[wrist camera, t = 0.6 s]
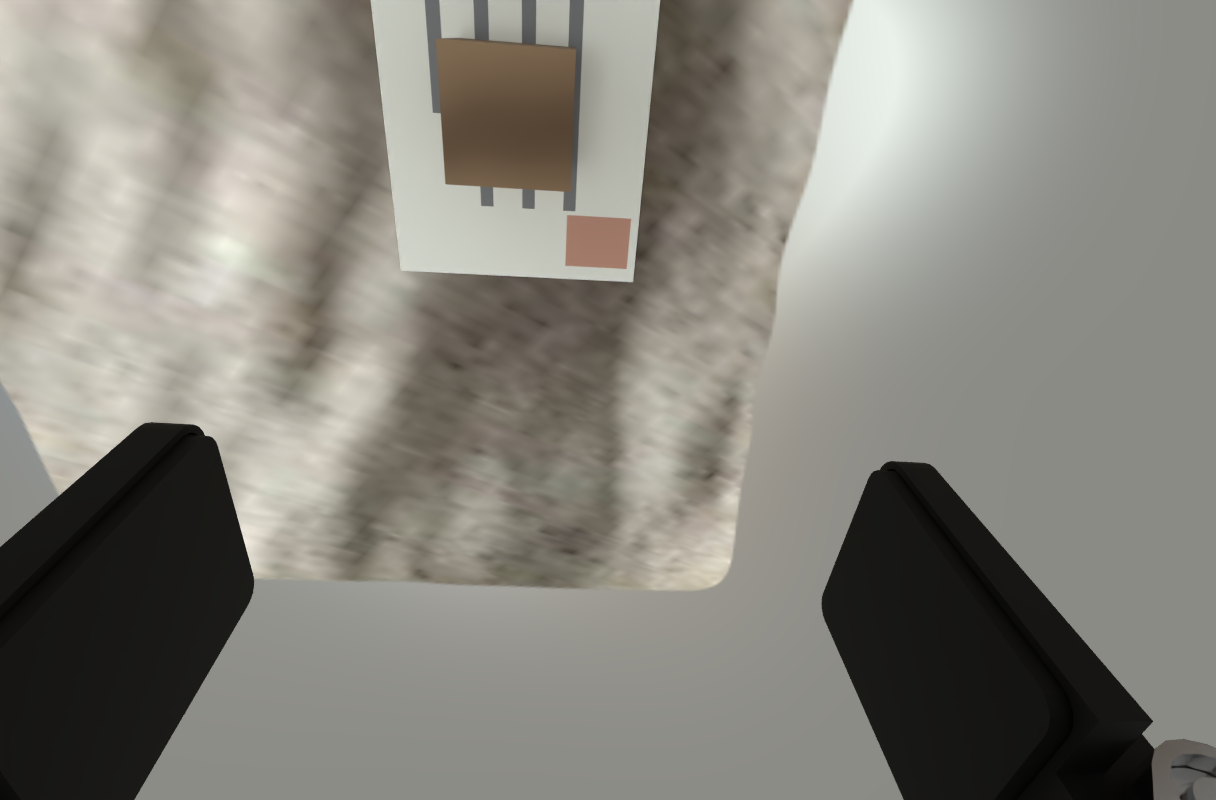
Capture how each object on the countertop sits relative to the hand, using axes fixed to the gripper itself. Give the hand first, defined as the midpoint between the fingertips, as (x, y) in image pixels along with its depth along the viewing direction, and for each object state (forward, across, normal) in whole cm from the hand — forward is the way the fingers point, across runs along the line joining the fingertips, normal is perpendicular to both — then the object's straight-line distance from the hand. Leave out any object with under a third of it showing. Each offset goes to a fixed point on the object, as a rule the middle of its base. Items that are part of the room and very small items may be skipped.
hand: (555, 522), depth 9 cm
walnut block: (+24, +2, -4) cm, 24 cm away
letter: (+24, +2, -4) cm, 24 cm away
